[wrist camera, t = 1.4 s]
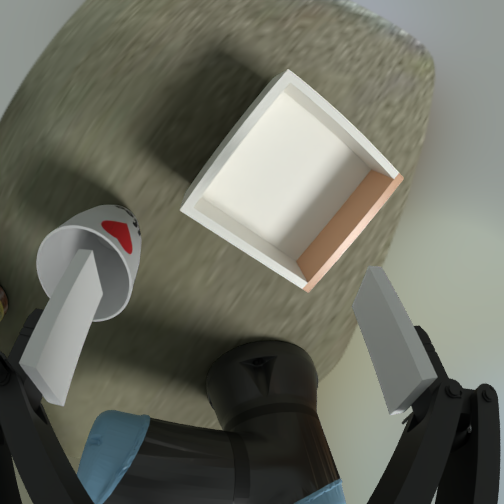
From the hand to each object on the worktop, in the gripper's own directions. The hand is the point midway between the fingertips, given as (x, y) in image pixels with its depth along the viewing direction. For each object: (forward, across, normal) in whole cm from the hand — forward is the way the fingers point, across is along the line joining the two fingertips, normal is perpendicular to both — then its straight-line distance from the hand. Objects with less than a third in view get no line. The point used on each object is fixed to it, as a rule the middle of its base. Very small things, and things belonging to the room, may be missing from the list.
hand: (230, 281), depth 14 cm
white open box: (+17, -5, +1) cm, 18 cm away
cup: (+15, +11, +7) cm, 20 cm away
